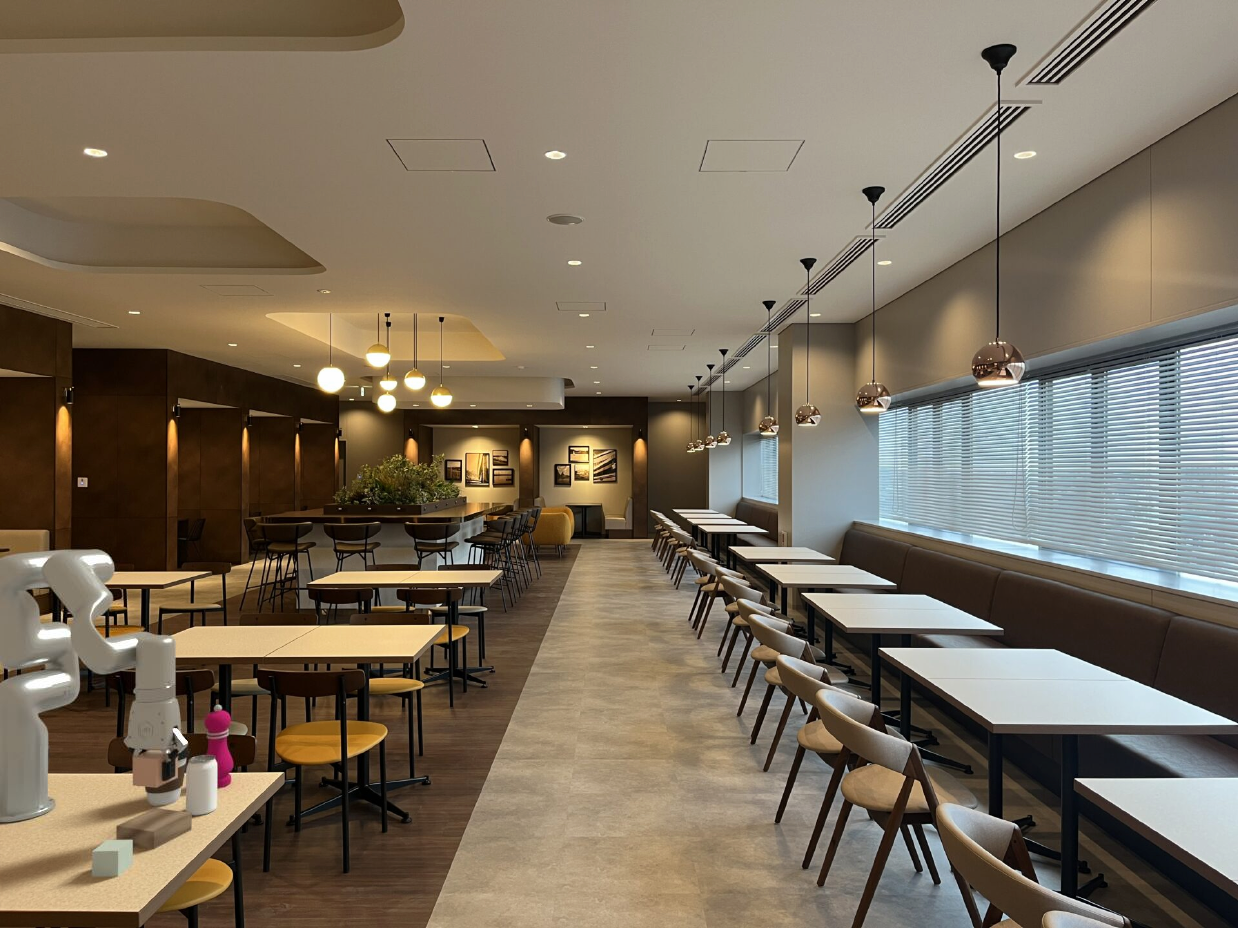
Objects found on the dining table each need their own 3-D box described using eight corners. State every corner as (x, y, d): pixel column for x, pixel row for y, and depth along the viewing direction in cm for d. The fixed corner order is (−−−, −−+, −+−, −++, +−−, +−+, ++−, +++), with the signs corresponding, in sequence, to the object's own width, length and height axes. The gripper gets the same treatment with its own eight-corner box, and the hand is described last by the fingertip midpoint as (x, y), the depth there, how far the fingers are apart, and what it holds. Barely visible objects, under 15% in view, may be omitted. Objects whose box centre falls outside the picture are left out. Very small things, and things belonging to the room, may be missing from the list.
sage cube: (91, 877, 160) (92, 851, 160) (107, 865, 165) (107, 839, 165) (118, 876, 160) (118, 850, 160) (132, 864, 165) (132, 839, 165)
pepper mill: (214, 778, 212) (215, 700, 212) (239, 780, 211) (239, 701, 211) (194, 788, 205) (195, 707, 205) (220, 790, 204) (220, 709, 204)
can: (204, 817, 188) (204, 764, 188) (179, 814, 189) (179, 762, 189) (223, 806, 194) (223, 754, 194) (199, 804, 195) (199, 753, 195)
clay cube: (132, 785, 176) (132, 757, 176) (154, 775, 181) (154, 748, 182) (156, 787, 174) (156, 758, 174) (177, 777, 180) (177, 749, 180)
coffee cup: (194, 801, 197) (195, 751, 197) (142, 813, 190) (143, 761, 190) (183, 788, 205) (184, 740, 205) (133, 799, 198) (134, 749, 198)
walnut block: (116, 844, 174) (116, 825, 174) (155, 825, 184) (155, 807, 184) (153, 850, 172) (153, 831, 172) (191, 830, 181) (191, 812, 181)
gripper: (108, 696, 177) (108, 780, 176) (176, 700, 173) (176, 786, 172) (136, 687, 184) (136, 768, 184) (202, 691, 180) (202, 774, 180)
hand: (155, 776), depth 178 cm, fingers closed on clay cube, 6 cm apart
